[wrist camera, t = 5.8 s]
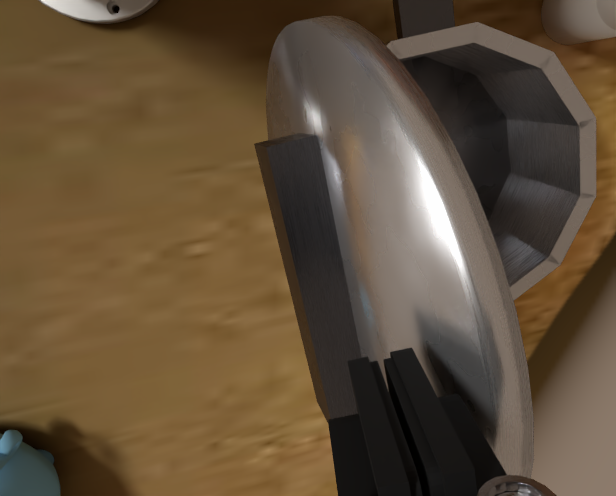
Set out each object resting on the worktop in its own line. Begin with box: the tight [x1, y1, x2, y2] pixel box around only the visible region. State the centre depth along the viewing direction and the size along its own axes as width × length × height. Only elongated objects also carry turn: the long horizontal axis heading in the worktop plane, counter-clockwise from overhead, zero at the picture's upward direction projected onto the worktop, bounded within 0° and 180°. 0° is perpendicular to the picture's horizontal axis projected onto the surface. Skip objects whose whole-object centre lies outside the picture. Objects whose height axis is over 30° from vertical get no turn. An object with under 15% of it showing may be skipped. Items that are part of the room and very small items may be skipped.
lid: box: [254, 16, 534, 479], centre depth 18 cm, size 19×19×3 cm
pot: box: [385, 0, 596, 301], centre depth 33 cm, size 26×20×10 cm
